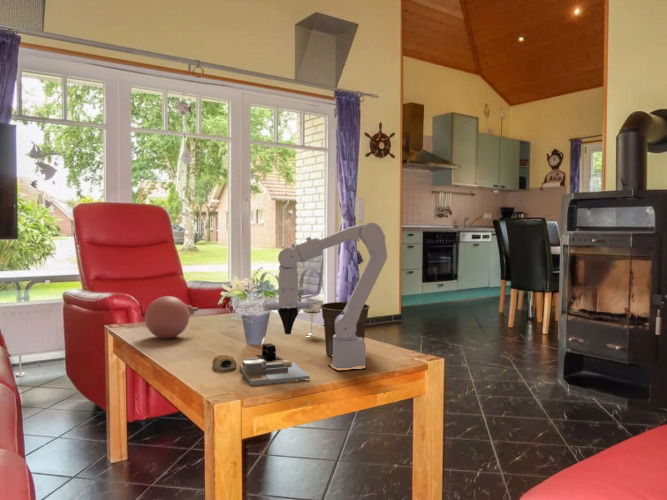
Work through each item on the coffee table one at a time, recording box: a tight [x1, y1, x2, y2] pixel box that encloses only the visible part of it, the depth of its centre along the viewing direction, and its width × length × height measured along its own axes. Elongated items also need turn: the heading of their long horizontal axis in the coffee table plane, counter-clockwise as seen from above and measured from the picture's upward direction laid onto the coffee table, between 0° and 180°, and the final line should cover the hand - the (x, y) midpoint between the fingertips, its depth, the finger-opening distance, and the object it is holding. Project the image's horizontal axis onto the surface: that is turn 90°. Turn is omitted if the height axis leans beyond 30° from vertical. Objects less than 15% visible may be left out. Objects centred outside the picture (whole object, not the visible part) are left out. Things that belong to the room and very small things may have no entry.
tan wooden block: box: [242, 358, 267, 373], centre depth 146 cm, size 6×3×3 cm, turn 111°
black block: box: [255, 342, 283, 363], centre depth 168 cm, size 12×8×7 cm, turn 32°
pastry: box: [212, 354, 238, 371], centre depth 157 cm, size 9×7×4 cm
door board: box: [239, 357, 310, 386], centre depth 148 cm, size 16×16×4 cm
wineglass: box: [302, 302, 322, 335], centre depth 202 cm, size 7×7×12 cm
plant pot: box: [320, 301, 371, 355], centre depth 173 cm, size 16×16×16 cm
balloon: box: [144, 295, 199, 339], centre depth 194 cm, size 15×20×15 cm
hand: (287, 333), depth 157 cm, fingers closed
